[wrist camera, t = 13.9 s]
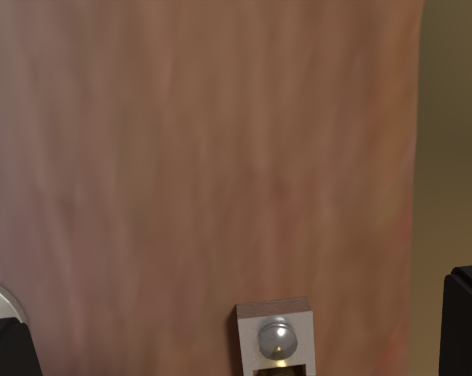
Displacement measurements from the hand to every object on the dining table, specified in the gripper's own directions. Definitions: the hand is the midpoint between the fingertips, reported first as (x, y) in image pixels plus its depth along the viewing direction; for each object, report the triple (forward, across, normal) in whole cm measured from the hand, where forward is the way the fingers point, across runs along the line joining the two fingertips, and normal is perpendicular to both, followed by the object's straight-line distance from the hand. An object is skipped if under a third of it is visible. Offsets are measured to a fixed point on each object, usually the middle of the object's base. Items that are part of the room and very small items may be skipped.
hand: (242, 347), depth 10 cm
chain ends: (+28, -3, +26) cm, 39 cm away
